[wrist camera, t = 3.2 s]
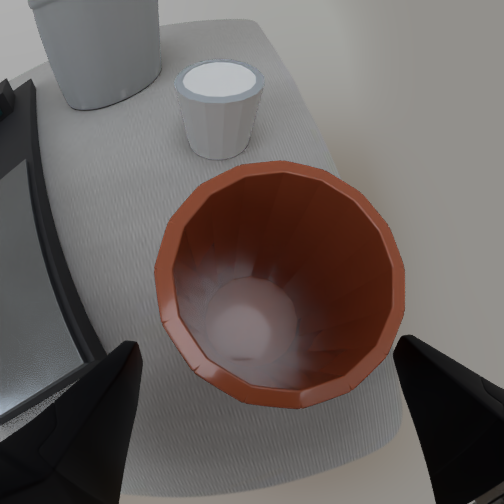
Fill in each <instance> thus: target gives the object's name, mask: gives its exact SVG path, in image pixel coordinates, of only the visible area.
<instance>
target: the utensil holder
mask: <svg viewBox="0 0 504 504" xmlns="http://www.w3.org/2000/svg"><path fill="white" fill-rule="evenodd" d="M28 4H29V7H30V8H31V9H33V13H34V17H35V21H36V24H37V28H38V31H39V34H40V37H41V40H42V43H43V46H44V48H45V51H46V54H47V57H48V60H49V62H50V65H51V68H52V70H53V73H54V75H55V78H56V80H57V82H58V84H59V87H60V89H61V91H62V93H63V95H64V97H65V99H66V101H67V103H68V104H69V106H71V107H72V108H74V109H79V110H91V109H97V108H101V107H105V106H108V105H111V104H114V103H117V102H119V101H121V100H124V99H126V98H128V97H130V96H132V95H134V94H136V93H138V92H139V91H141V90H142V89H144V88H145V87H147V86H148V85H149V84H151V83H152V82H153V81H154V80H155V79H156V78H157V76H158V75H159V73H160V70H161V51H160V32H159V14H158V0H28Z"/></svg>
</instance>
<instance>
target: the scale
mask: <svg viewBox="0 0 504 504" xmlns="http://www.w3.org/2000/svg"><path fill="white" fill-rule="evenodd" d="M106 356H107V355H106V353H105V351H104V349H103V347H102V345H101V343H100V341H99V339H98V337H97V335H96V333H95V331H94V329H93V327H92V325H91V323H90V321H89V319H88V316H87V314H86V312H85V310H84V307H83V305H82V303H81V300H80V298H79V296H78V293H77V291H76V288H75V286H74V283H73V280H72V278H71V275H70V272H69V270H68V267H67V264H66V261H65V258H64V255H63V252H62V249H61V246H60V242H59V239H58V236H57V232H56V229H55V225H54V221H53V217H52V213H51V209H50V205H49V201H48V196H47V191H46V186H45V181H44V176H43V170H42V164H41V157H40V149H39V141H38V130H37V117H36V88H35V86H34V84H33V82H32V79H30V80H28V81H27V82H25V83H24V84H22V85H21V86H20V87H18V88H17V89H15V90H14V91H13V90H12V88H11V86H10V84H9V82H8V80H7V79H5V80H4V81H2V82H1V83H0V425H2V424H4V423H5V422H7V421H9V420H11V419H12V418H14V417H16V416H18V415H19V414H21V413H23V412H24V411H26V410H28V409H30V408H31V407H33V406H35V405H36V404H38V403H40V402H41V401H43V400H45V399H46V398H48V397H50V396H51V395H53V394H55V393H56V392H58V391H60V390H61V389H63V388H65V387H66V386H68V385H70V384H71V383H73V382H75V381H76V380H78V379H80V378H81V377H83V376H84V375H85V374H86V373H88V372H89V371H90V370H91V369H92V368H93V367H94V366H96V365H97V364H98V363H99V362H100V361H101V360H103V359H104V358H105V357H106Z"/></svg>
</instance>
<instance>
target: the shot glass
mask: <svg viewBox="0 0 504 504" xmlns="http://www.w3.org/2000/svg"><path fill="white" fill-rule="evenodd" d="M174 85H175V89H176V93H177V97H178V102H179V106H180V110H181V114H182V118H183V121H184V125H185V129H186V133H187V137H188V141H189V144H190V147H191V149H192V150H193V151H194V152H195V153H196V154H198V155H199V156H201V157H204V158H207V159H211V160H224V159H228V158H232V157H235V156H236V155H238V154H240V153H241V152H243V151H244V149H245V148H246V146H247V145H248V143H249V139H250V135H251V132H252V128H253V124H254V121H255V117H256V113H257V110H258V106H259V103H260V99H261V96H262V92H263V89H264V76H263V75H262V74H261V72H260V71H259V70H258V69H257V68H255V67H253V66H251V65H249V64H247V63H245V62H240V61H236V60H232V59H212V60H206V61H200V62H198V63H195V64H193V65H190V66H188V67H186V68H185V69H184V70H182V71H181V72H180V73H179V74H178V75H177V77H176V79H175V82H174Z"/></svg>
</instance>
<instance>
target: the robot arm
mask: <svg viewBox="0 0 504 504" xmlns="http://www.w3.org/2000/svg"><path fill="white" fill-rule="evenodd" d="M393 359H394V363H395V366H396V370H397V373H398V377H399V381H400V384H401V388H402V391H403V394H404V397H405V400H406V402H407V405H408V408H409V411H410V413H411V417H412V419H413V422H414V425H415V428H416V431H417V435H418V437H419V440H420V444H421V447H422V451H423V454H424V457H425V461H426V464H427V468H428V472H429V475H430V480H431V484H432V488H433V492H434V497H435V501H436V504H468V503H470V502H471V501H473V500H475V502H474V503H473V504H504V389H502V388H500V387H498V386H496V385H495V384H493V383H491V382H490V381H488V380H486V379H484V378H483V377H480V375H478V374H476V373H474V372H473V371H471V370H470V369H468V368H466V367H465V366H463V365H461V364H460V363H458V362H456V361H455V360H453V359H451V358H450V357H448V356H446V355H445V354H443V353H441V352H440V351H438V350H436V349H435V348H433V347H431V346H430V345H428V344H426V343H425V342H423V341H421V340H420V339H418V338H416V337H415V336H413V335H404V336H401V338H400V339H399V341H398V343H397V346H396V347H395V350H394V352H393ZM142 367H143V360H142V356H141V352H140V349H139V345H138V343H137V342H135V341H124V342H122V343H121V344H120V345H119V346H118V347H117V348H115V349H114V350H113V351H112V352H111V353H110V354H108V355H107V356H106V357H105V358H104V359H103V360H101V361H100V362H99V363H98V364H97V365H96V366H94V367H93V368H92V369H91V370H90V371H89V372H88V373H86V374H85V375H84V376H83V377H82V378H81V379H79V380H78V381H77V382H76V383H75V384H74V385H73V386H71V387H70V388H69V389H68V390H67V391H66V392H65V393H63V394H62V395H61V396H60V397H59V398H58V399H57V400H55V403H52V404H51V405H50V406H48V407H47V408H46V409H45V410H44V411H43V412H41V413H40V414H39V415H38V416H37V417H35V418H34V419H33V420H31V421H30V422H29V423H27V424H26V425H25V426H23V427H22V428H20V429H19V430H18V431H16V432H15V433H13V434H12V435H10V436H9V437H7V438H6V439H5V440H3V441H2V442H0V504H119V498H120V491H121V485H122V479H123V473H124V468H125V462H126V457H127V452H128V447H129V442H130V437H131V433H132V428H133V424H134V419H135V415H136V411H137V406H138V398H139V390H140V382H141V375H142Z"/></svg>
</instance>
